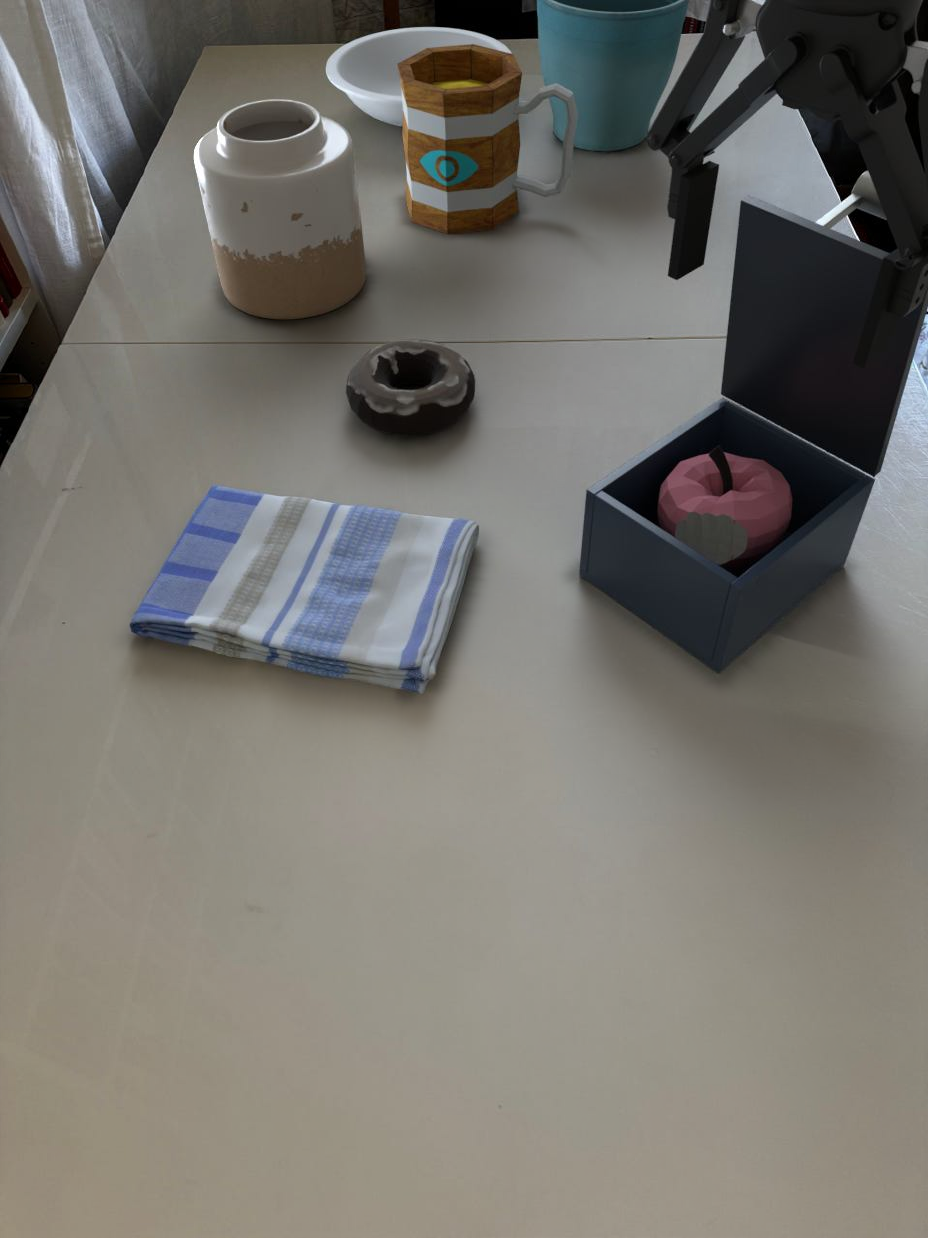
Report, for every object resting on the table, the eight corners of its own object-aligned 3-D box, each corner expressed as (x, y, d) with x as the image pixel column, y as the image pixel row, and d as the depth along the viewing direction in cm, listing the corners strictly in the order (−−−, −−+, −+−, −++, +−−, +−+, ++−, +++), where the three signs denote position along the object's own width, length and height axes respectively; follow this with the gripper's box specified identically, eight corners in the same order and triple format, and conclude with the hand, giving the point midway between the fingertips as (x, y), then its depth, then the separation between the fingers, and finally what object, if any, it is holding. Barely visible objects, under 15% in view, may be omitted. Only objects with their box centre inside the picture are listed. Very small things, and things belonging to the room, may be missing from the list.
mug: (389, 228, 117) (378, 89, 106) (420, 173, 126) (413, 39, 114) (561, 245, 114) (569, 103, 102) (581, 188, 122) (590, 51, 111)
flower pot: (685, 111, 136) (705, -36, 123) (659, 173, 124) (678, 17, 112) (551, 96, 140) (557, -48, 127) (514, 155, 128) (516, 3, 116)
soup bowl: (381, 67, 147) (377, 17, 142) (539, 91, 141) (541, 39, 136) (298, 138, 133) (290, 84, 128) (470, 168, 126) (469, 112, 121)
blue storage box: (718, 674, 74) (740, 590, 67) (578, 575, 80) (585, 489, 74) (844, 565, 80) (875, 479, 74) (705, 482, 87) (722, 396, 81)
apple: (633, 580, 79) (647, 479, 71) (670, 511, 84) (686, 409, 76) (758, 619, 76) (785, 518, 68) (787, 544, 81) (816, 443, 73)
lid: (930, 279, 60) (1025, 197, 64) (740, 200, 67) (836, 130, 70) (874, 477, 73) (955, 400, 77) (720, 394, 80) (801, 327, 84)
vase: (396, 273, 110) (383, 112, 98) (293, 338, 103) (265, 172, 90) (296, 230, 117) (272, 74, 104) (192, 288, 109) (153, 126, 97)
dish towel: (432, 704, 72) (430, 679, 70) (124, 645, 77) (114, 620, 74) (488, 536, 83) (488, 510, 81) (217, 493, 88) (210, 467, 86)
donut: (491, 378, 98) (491, 341, 95) (452, 455, 90) (451, 418, 87) (375, 358, 100) (372, 322, 97) (329, 432, 93) (323, 395, 90)
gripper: (604, -133, 52) (580, 259, 68) (1094, -23, 39) (925, 427, 55) (699, -161, 55) (655, 219, 71) (1179, -68, 43) (996, 369, 58)
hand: (773, 311), depth 63 cm, fingers open, 13 cm apart
